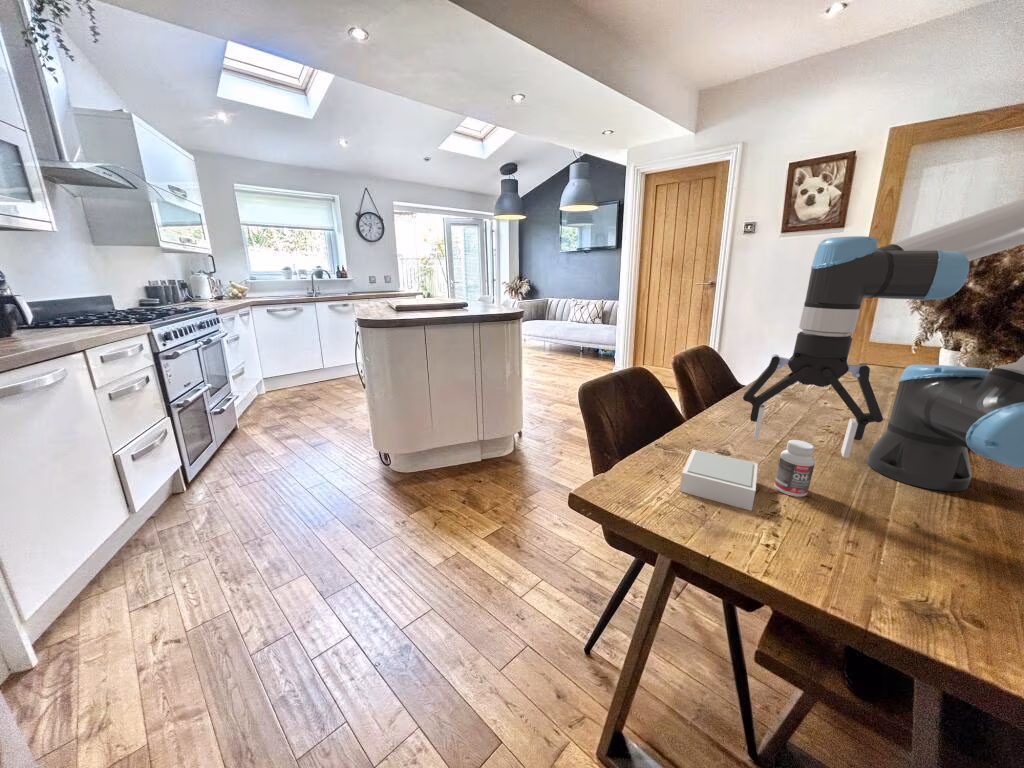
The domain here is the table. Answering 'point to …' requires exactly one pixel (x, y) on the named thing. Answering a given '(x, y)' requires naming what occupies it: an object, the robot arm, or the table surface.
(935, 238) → the robot arm
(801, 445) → the pill bottle
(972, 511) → the table surface
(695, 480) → the plinth
